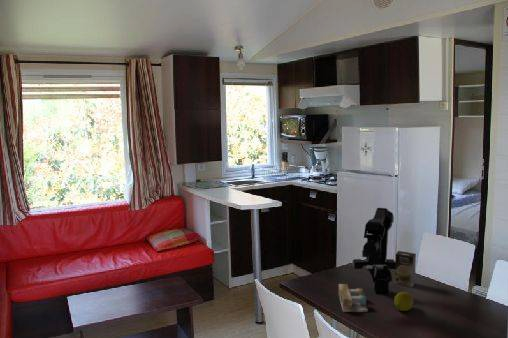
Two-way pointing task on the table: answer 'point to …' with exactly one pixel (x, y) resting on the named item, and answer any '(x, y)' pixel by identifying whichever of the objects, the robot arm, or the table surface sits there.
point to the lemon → (403, 301)
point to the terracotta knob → (356, 292)
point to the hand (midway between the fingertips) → (374, 282)
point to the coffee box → (405, 268)
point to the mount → (349, 301)
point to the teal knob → (359, 299)
